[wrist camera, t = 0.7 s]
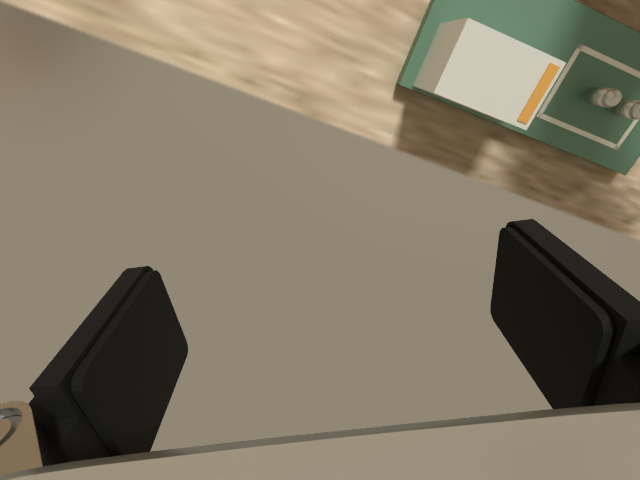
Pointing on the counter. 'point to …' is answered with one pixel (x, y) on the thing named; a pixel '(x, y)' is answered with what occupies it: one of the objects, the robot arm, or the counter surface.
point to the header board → (577, 75)
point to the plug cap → (488, 72)
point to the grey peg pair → (612, 102)
